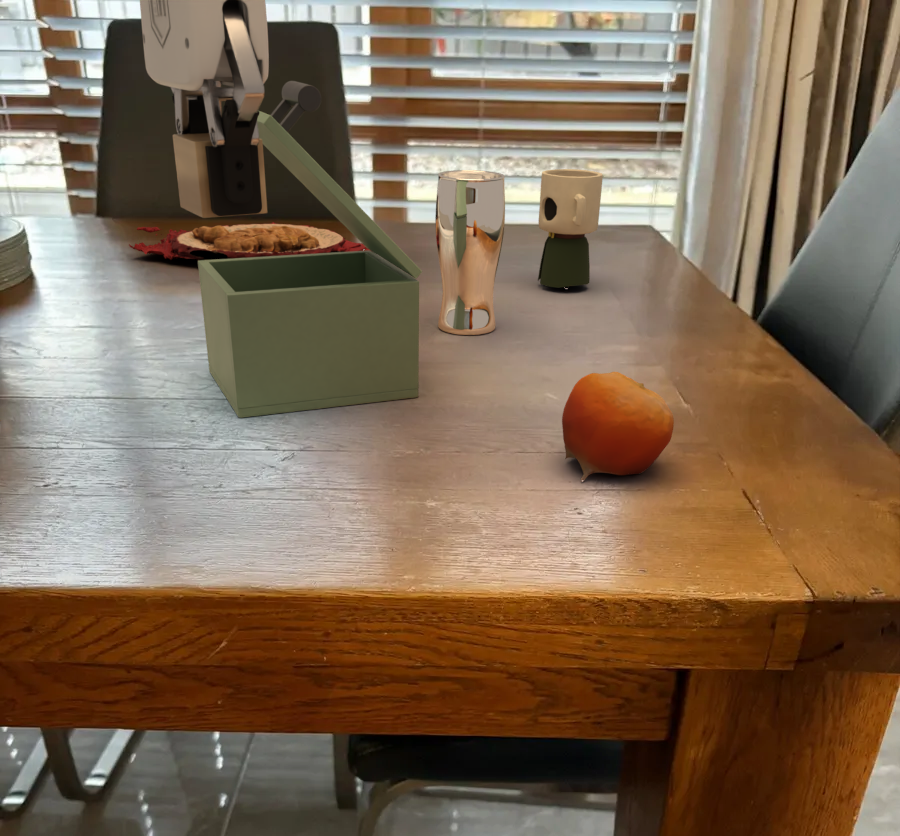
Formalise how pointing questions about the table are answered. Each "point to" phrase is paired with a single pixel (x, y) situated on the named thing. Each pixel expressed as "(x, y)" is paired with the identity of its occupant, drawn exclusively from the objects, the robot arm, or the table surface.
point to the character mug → (568, 224)
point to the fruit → (615, 425)
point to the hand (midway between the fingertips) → (222, 204)
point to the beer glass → (469, 247)
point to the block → (202, 173)
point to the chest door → (323, 174)
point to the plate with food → (249, 241)
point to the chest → (310, 331)
